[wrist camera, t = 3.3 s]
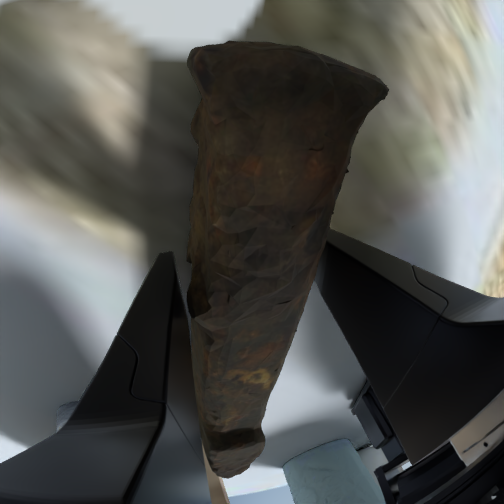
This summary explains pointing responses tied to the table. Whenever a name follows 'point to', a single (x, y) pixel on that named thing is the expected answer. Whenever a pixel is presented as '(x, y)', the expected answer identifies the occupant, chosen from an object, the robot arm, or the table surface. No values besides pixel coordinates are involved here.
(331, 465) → the grey green cup
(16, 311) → the table surface
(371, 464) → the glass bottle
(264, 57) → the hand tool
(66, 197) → the table surface
